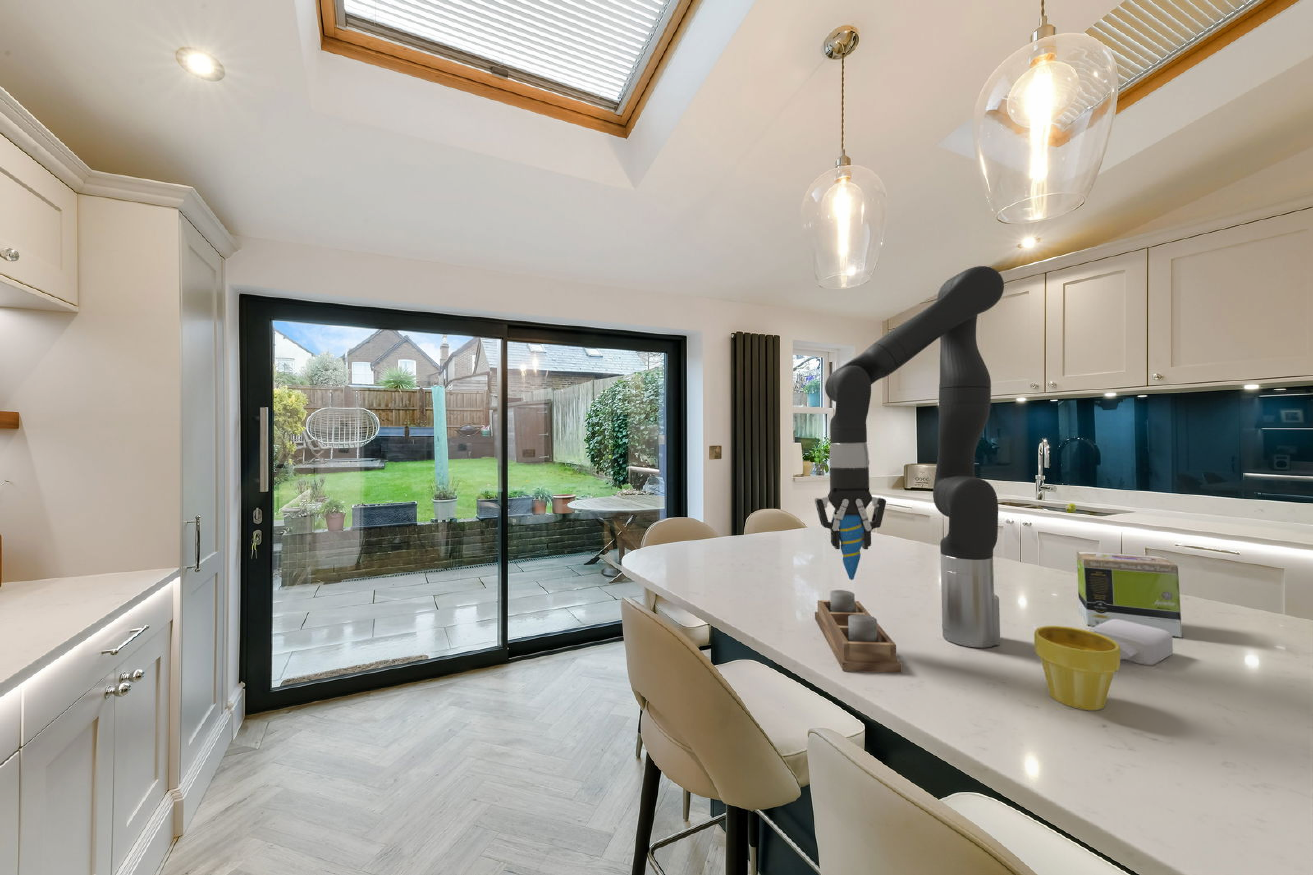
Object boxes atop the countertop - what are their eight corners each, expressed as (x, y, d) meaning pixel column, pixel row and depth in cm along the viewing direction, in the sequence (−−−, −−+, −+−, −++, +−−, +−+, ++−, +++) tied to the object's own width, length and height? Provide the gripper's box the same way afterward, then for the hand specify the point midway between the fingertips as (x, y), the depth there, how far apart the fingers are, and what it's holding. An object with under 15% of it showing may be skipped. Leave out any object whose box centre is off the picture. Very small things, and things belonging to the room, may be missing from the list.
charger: (1074, 657, 95) (1110, 640, 103) (1138, 676, 87) (1173, 657, 94) (1073, 631, 95) (1109, 617, 103) (1138, 648, 87) (1172, 631, 94)
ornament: (851, 584, 101) (850, 508, 101) (831, 578, 105) (830, 505, 105) (870, 580, 103) (868, 506, 103) (849, 575, 107) (848, 503, 108)
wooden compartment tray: (859, 619, 117) (859, 586, 117) (901, 672, 90) (900, 630, 90) (814, 618, 118) (814, 585, 118) (842, 670, 91) (841, 628, 91)
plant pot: (1130, 725, 72) (1128, 656, 72) (1039, 706, 78) (1037, 642, 78) (1113, 694, 81) (1111, 632, 81) (1032, 679, 87) (1031, 621, 87)
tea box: (1167, 623, 111) (1165, 555, 111) (1182, 639, 102) (1180, 565, 102) (1077, 612, 119) (1076, 548, 119) (1085, 626, 110) (1083, 557, 110)
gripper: (879, 463, 107) (881, 545, 107) (809, 464, 109) (811, 544, 109) (891, 465, 100) (893, 553, 99) (816, 466, 101) (818, 552, 101)
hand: (850, 548), depth 104 cm, fingers closed on ornament, 5 cm apart
